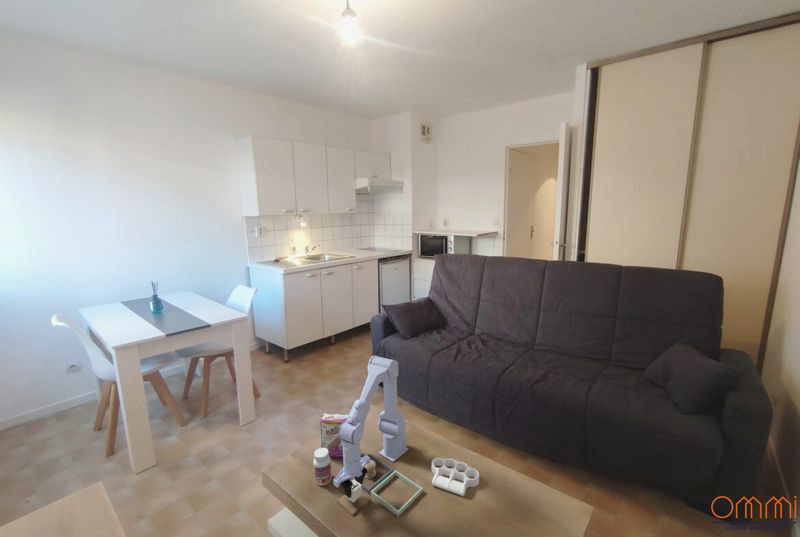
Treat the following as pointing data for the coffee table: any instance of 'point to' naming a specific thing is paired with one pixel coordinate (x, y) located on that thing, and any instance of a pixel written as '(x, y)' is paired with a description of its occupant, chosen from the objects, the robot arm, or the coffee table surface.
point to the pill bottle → (322, 466)
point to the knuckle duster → (453, 475)
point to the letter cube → (355, 491)
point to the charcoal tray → (390, 471)
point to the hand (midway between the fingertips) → (353, 491)
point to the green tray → (386, 504)
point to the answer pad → (353, 503)
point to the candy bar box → (332, 433)
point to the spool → (370, 470)
